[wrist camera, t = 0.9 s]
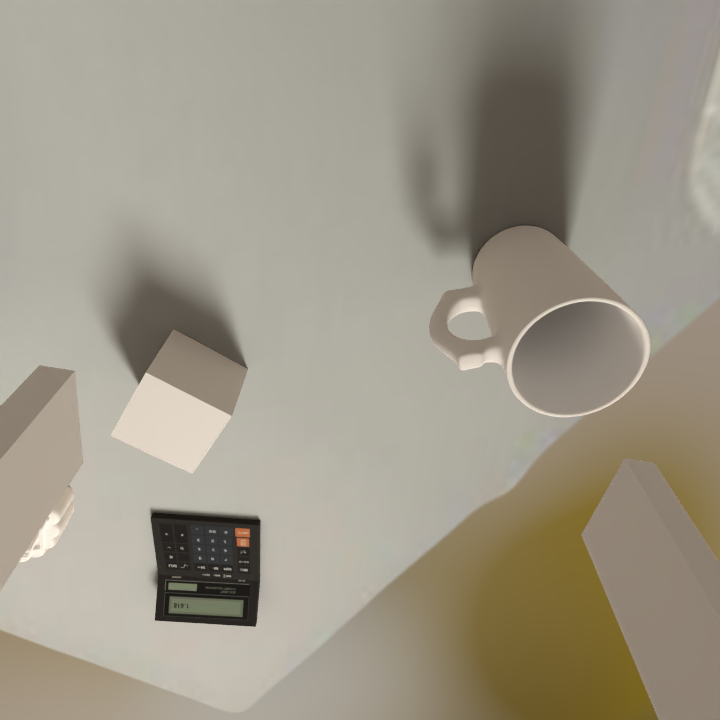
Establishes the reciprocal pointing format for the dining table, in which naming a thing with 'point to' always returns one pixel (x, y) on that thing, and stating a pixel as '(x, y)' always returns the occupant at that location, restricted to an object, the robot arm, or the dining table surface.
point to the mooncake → (52, 526)
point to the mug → (546, 325)
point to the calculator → (207, 569)
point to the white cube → (181, 402)
